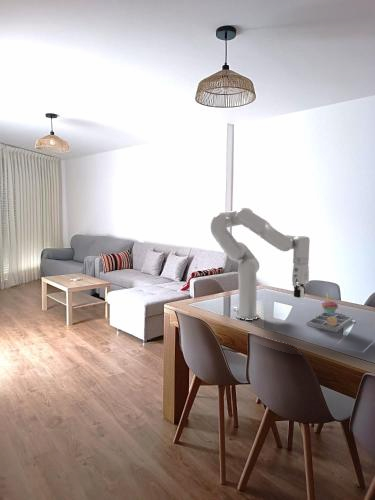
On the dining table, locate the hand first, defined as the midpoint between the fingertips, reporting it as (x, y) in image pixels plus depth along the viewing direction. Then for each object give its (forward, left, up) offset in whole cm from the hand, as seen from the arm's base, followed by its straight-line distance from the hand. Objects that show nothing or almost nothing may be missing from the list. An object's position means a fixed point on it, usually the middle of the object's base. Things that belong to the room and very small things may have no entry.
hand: (299, 295), depth 187 cm
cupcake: (+6, +25, -14) cm, 30 cm away
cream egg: (0, 0, -1) cm, 1 cm away
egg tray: (+13, +7, -14) cm, 21 cm away
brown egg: (+17, 0, -14) cm, 22 cm away
